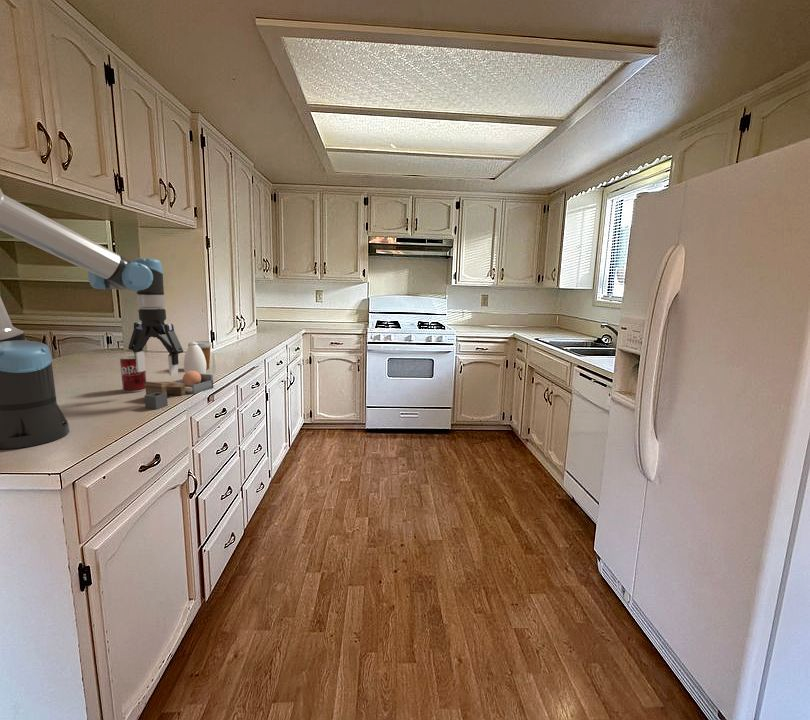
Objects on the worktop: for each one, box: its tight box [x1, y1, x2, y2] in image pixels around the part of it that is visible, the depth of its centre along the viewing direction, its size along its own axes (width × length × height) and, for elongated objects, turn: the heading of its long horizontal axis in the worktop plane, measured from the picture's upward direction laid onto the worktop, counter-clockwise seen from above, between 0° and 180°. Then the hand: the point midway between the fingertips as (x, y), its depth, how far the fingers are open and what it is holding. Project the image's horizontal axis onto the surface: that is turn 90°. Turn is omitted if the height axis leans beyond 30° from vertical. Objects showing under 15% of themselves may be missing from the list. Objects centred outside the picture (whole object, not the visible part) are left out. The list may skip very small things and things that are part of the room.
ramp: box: [145, 381, 186, 396], centre depth 142 cm, size 10×7×6 cm
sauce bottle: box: [183, 335, 207, 374], centre depth 163 cm, size 8×8×18 cm
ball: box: [182, 371, 201, 387], centre depth 152 cm, size 6×6×6 cm
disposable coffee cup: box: [187, 340, 212, 370], centre depth 187 cm, size 10×10×12 cm
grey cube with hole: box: [144, 392, 169, 410], centre depth 130 cm, size 4×4×4 cm
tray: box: [172, 373, 214, 395], centre depth 152 cm, size 9×11×5 cm
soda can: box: [119, 355, 147, 393], centre depth 149 cm, size 7×7×12 cm
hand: (157, 373), depth 138 cm, fingers open, 13 cm apart
